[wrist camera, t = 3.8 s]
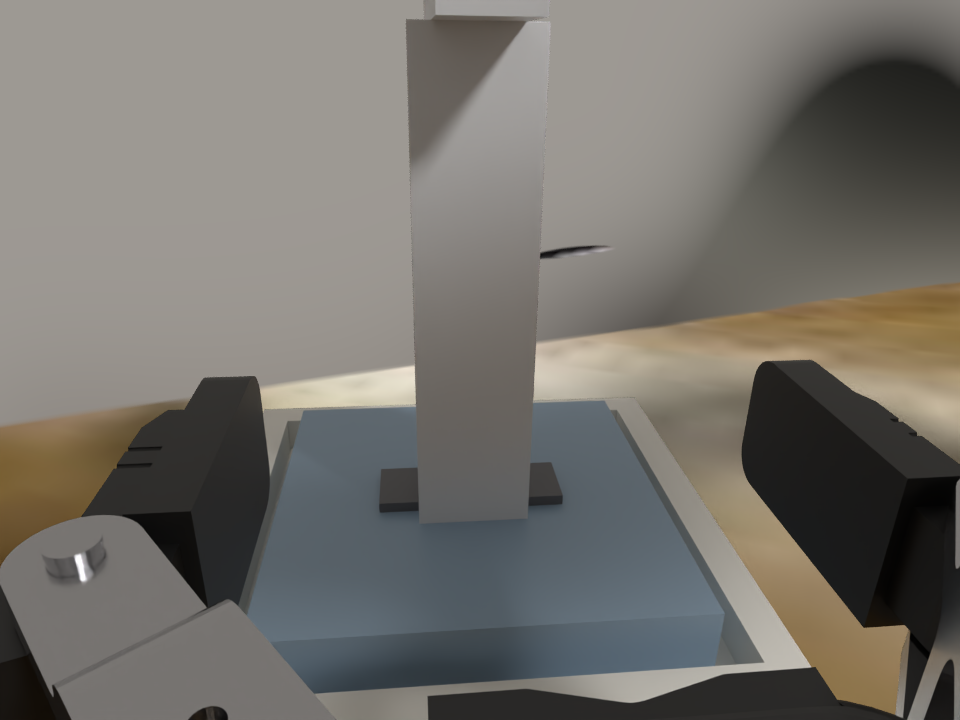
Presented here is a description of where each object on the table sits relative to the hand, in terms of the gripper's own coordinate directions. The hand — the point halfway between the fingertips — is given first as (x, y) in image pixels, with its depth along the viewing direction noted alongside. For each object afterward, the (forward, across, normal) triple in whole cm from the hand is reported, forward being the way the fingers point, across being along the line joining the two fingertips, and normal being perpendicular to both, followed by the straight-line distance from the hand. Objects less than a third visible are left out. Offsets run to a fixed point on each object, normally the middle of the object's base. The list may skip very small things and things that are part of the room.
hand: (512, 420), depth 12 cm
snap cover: (+8, 0, +8) cm, 11 cm away
